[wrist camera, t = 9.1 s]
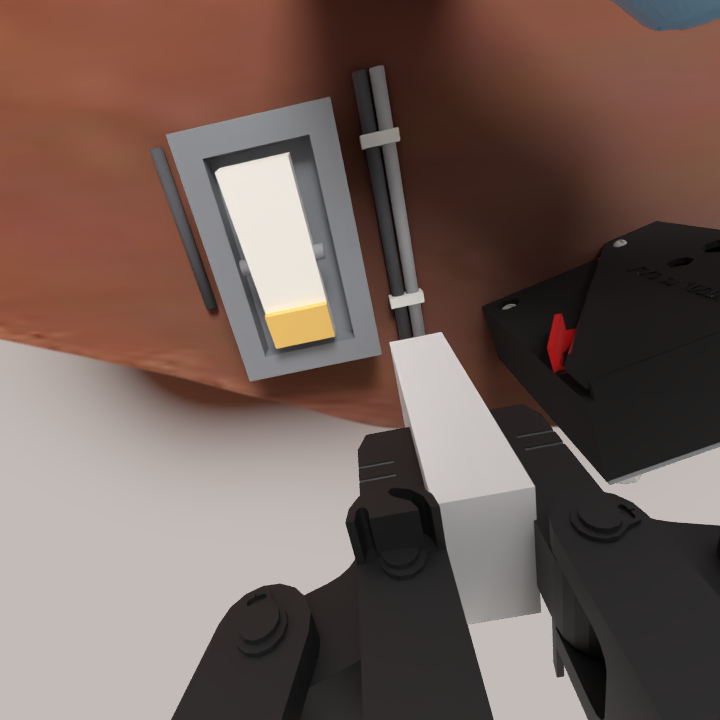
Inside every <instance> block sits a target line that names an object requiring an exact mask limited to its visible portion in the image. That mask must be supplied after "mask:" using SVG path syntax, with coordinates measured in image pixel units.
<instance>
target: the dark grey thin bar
mask: <svg viewBox="0 0 720 720" xmlns="http://www.w3.org/2000/svg"><path fill="white" fill-rule="evenodd" d="M150 152H151V155H152V158H153V161H154V163H155V166H156V169H157V172H158V175H159V177H160V180H161V183H162V186H163V188H164V191H165V194H166V197H167V200H168V202H169V205H170V208H171V211H172V214H173V216H174V219H175V222H176V225H177V228H178V230H179V233H180V236H181V239H182V241H183V244H184V247H185V250H186V253H187V255H188V258H189V261H190V264H191V267H192V269H193V272H194V275H195V278H196V280H197V283H198V286H199V289H200V292H201V294H202V297H203V300H204V303H205V306H206V308H207V310H209V309H213V308H216V307H217V304H216V301H215V298H214V295H213V293H212V290H211V287H210V284H209V281H208V278H207V275H206V272H205V270H204V267H203V264H202V261H201V258H200V255H199V252H198V249H197V247H196V244H195V241H194V238H193V235H192V232H191V229H190V226H189V224H188V221H187V218H186V215H185V212H184V209H183V206H182V203H181V201H180V198H179V195H178V192H177V189H176V186H175V183H174V180H173V178H172V175H171V172H170V169H169V166H168V163H167V160H166V157H165V155H164V152H163V149H162V147H158V148H153V149H150Z"/></svg>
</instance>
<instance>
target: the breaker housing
mask: <svg viewBox="0 0 720 720" xmlns="http://www.w3.org/2000/svg"><path fill="white" fill-rule="evenodd" d="M166 137H167V140H168V143H169V146H170V149H171V152H172V154H173V157H174V160H175V163H176V166H177V169H178V172H179V175H180V178H181V181H182V184H183V187H184V190H185V193H186V195H187V198H188V201H189V204H190V207H191V210H192V213H193V216H194V219H195V222H196V225H197V228H198V231H199V234H200V237H201V239H202V242H203V245H204V248H205V251H206V254H207V257H208V260H209V263H210V266H211V269H212V272H213V275H214V278H215V280H216V283H217V286H218V289H219V292H220V295H221V298H222V301H223V304H224V307H225V310H226V313H227V316H228V319H229V322H230V324H231V327H232V330H233V333H234V336H235V339H236V342H237V345H238V348H239V351H240V354H241V357H242V360H243V363H244V365H245V368H246V371H247V374H248V377H249V380H250V381H255V380H260V379H265V378H270V377H275V376H280V375H284V374H289V373H294V372H299V371H304V370H309V369H314V368H319V367H323V366H328V365H333V364H338V363H343V362H348V361H353V360H358V359H362V358H367V357H372V356H377V355H382V353H381V348H380V343H379V338H378V333H377V328H376V323H375V318H374V313H373V308H372V303H371V298H370V293H369V288H368V283H367V278H366V273H365V268H364V263H363V258H362V253H361V248H360V243H359V238H358V233H357V228H356V223H355V218H354V213H353V208H352V203H351V198H350V193H349V188H348V183H347V178H346V173H345V168H344V163H343V158H342V153H341V148H340V143H339V139H338V134H337V129H336V124H335V119H334V114H333V109H332V104H331V99H330V97H326V98H321V99H317V100H313V101H309V102H304V103H300V104H296V105H291V106H287V107H283V108H278V109H274V110H270V111H266V112H261V113H257V114H253V115H248V116H244V117H240V118H235V119H231V120H227V121H222V122H218V123H214V124H210V125H205V126H201V127H197V128H192V129H188V130H184V131H179V132H175V133H171V134H167V135H166ZM288 152H290V156H291V160H292V164H293V167H294V171H295V175H296V179H297V183H298V187H299V190H300V194H301V198H302V202H303V206H304V210H305V213H306V217H307V221H308V225H309V229H310V232H311V236H312V240H313V244H318V243H322V244H323V248H324V252H325V259H321V260H318V263H319V267H320V271H321V275H322V278H323V282H324V286H325V290H326V294H327V298H328V301H329V305H330V309H331V313H332V317H333V321H334V324H335V337H331V338H326V339H321V340H316V341H312V342H307V343H302V344H297V345H292V346H288V347H283V348H278V349H276V347H275V344H274V342H273V339H272V336H271V333H270V331H269V328H268V325H267V322H266V320H265V315H266V314H265V311H264V308H263V306H262V303H261V300H260V297H259V294H258V292H257V289H256V286H255V283H254V281H253V278H252V275H247V276H243V274H242V272H241V269H240V264H239V262H240V260H244V259H246V258H245V256H244V253H243V250H242V247H241V244H240V242H239V239H238V236H237V233H236V231H235V228H234V225H233V222H232V219H231V217H230V214H229V211H228V208H227V206H226V203H225V200H224V197H223V194H222V192H221V189H220V186H219V183H218V181H217V178H216V175H215V172H216V171H217V170H218V169H219V168H222V167H226V166H231V165H235V164H240V163H244V162H248V161H253V160H257V159H261V158H266V157H270V156H275V155H279V154H283V153H288Z"/></svg>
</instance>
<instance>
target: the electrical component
mask: <svg viewBox="0 0 720 720" xmlns="http://www.w3.org/2000/svg"><path fill="white" fill-rule="evenodd" d="M482 308H483V311H484V314H485V317H486V320H487V323H488V326H489V329H490V332H491V335H492V338H493V341H494V344H495V347H496V350H497V353H498V356H499V359H500V360H501V361H502V362H503V363H504V364H505V366H506V367H507V368H508V369H509V370H510V371H511V372H512V374H513V375H514V376H515V377H516V378H517V379H518V381H519V382H520V383H521V384H522V385H523V386H524V387H525V389H526V390H527V391H528V392H529V393H530V394H531V395H532V397H533V398H534V399H535V400H536V401H537V402H538V403H539V405H540V406H541V407H542V408H543V409H544V410H545V412H546V413H547V414H548V415H549V416H550V417H551V418H552V420H553V421H554V422H555V423H556V424H557V425H558V426H559V428H560V429H561V430H562V431H563V432H564V433H565V435H566V436H567V437H568V438H569V439H570V440H571V441H572V442H573V444H574V445H575V446H576V447H577V448H578V449H579V450H580V452H581V453H582V454H583V455H584V456H585V457H586V458H587V460H588V461H589V462H590V463H591V464H592V466H593V467H594V468H595V469H596V470H597V471H598V472H599V474H600V475H601V476H602V477H603V478H604V479H605V480H606V482H608V483H609V484H610V485H611V484H614V483H620V484H629V483H634V482H637V481H638V479H639V478H640V476H641V474H643V473H646V472H648V471H651V470H654V469H657V468H660V467H663V466H666V465H669V464H671V463H674V462H677V461H680V460H683V459H686V458H689V457H691V456H694V455H697V454H700V453H703V452H706V451H709V450H711V449H714V448H717V447H720V230H717V229H710V228H702V227H695V226H688V225H681V224H674V223H667V222H659V221H656V222H654V223H651V224H649V225H647V226H644V227H642V228H640V229H637V230H635V231H633V232H630V233H628V234H626V235H623V236H621V237H619V238H616V239H614V240H612V241H609V242H608V243H606V244H604V247H603V250H602V253H601V256H600V257H598V259H596V260H594V261H591V262H589V263H586V264H584V265H581V266H579V267H577V268H574V269H572V270H569V271H567V272H565V273H562V274H560V275H557V276H555V277H553V278H550V279H548V280H545V281H543V282H540V283H538V284H536V285H533V286H531V287H528V288H526V289H524V290H521V291H519V292H516V293H514V294H512V295H509V296H507V297H504V298H502V299H499V300H497V301H495V302H492V303H490V304H487V305H485V306H483V307H482Z"/></svg>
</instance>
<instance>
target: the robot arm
mask: <svg viewBox="0 0 720 720" xmlns="http://www.w3.org/2000/svg"><path fill="white" fill-rule="evenodd" d="M611 1H613V2H614V3H616V4H617V5H618V6H619V7H621V8H622V9H623V10H624V11H626V12H627V13H628V14H629V15H630V16H632V17H633V18H634V19H635V20H636V21H638V22H639V23H640V24H642V25H643V26H645V27H647V28H650V29H653V30H657V31H663V30H685V29H690V28H694V27H697V26H700V25H703V24H706V23H709V22H712V21H715V20H717V19H719V18H720V0H611ZM389 343H390V348H391V354H392V359H393V364H394V370H395V375H396V381H397V386H398V391H399V397H400V402H401V408H402V413H403V418H404V423H405V428H401V429H395V430H390V431H385V432H380V433H374V434H369V435H366V436H365V438H364V440H363V442H362V444H361V445H360V448H359V449H358V463H359V480H360V496H359V497H358V498H357V500H356V501H355V502H354V503H353V505H352V506H351V507H350V509H349V511H348V515H347V519H346V527H347V530H348V533H349V537H350V541H351V544H352V548H353V551H354V555H355V561H354V562H353V563H352V565H351V566H350V567H349V568H348V569H347V570H346V571H345V572H344V573H343V574H342V575H341V576H340V577H338V578H336V579H335V580H333V581H331V582H330V583H328V584H326V585H324V586H322V587H320V588H318V589H316V590H314V591H312V592H310V593H308V594H306V595H303V594H301V593H300V592H299V591H298V590H297V589H296V588H294V587H291V586H287V585H283V584H275V585H268V586H263V587H260V588H258V589H256V590H254V591H252V592H250V593H248V594H246V595H245V596H243V597H242V598H241V599H240V600H239V601H238V602H236V603H235V604H234V605H233V606H232V607H231V608H230V609H229V610H228V612H227V613H226V615H225V616H224V618H223V619H222V621H221V622H220V624H219V625H218V627H217V629H216V631H215V633H214V635H213V637H212V639H211V641H210V643H209V645H208V647H207V649H206V651H205V653H204V655H203V657H202V659H201V661H200V663H199V665H198V667H197V669H196V671H195V673H194V675H193V677H192V679H191V681H190V683H189V685H188V687H187V689H186V691H185V693H184V695H183V697H182V699H181V701H180V703H179V705H178V707H177V709H176V711H175V713H174V715H173V717H172V719H171V720H493V716H492V712H491V708H490V705H489V701H488V697H487V694H486V690H485V687H484V683H483V679H482V676H481V672H480V669H479V665H478V661H477V658H476V654H475V650H474V647H473V643H472V639H471V636H470V633H469V628H468V624H474V623H480V622H486V621H492V620H498V619H504V618H510V617H517V616H522V615H529V614H535V613H540V612H541V604H540V593H541V595H542V597H543V599H544V601H545V603H546V606H547V608H548V610H549V612H550V614H551V616H552V629H553V658H554V659H553V661H554V666H555V670H556V675H557V677H563V676H564V666H565V668H566V671H567V673H568V675H569V677H570V680H571V682H572V684H573V687H574V689H575V691H576V693H577V696H578V698H579V700H580V702H581V704H582V707H583V709H584V711H585V714H586V716H587V718H588V720H720V526H717V525H703V524H690V523H677V522H668V521H662V520H655V519H652V518H650V517H649V516H648V515H647V514H646V513H645V512H643V511H642V510H641V509H640V508H638V507H637V506H636V505H635V504H634V503H632V502H630V501H628V500H626V499H624V498H621V497H619V496H617V495H615V494H611V493H606V492H604V491H603V490H602V489H601V488H600V487H599V485H598V484H597V483H596V482H595V480H594V479H593V478H592V477H591V475H590V474H589V473H588V472H587V471H586V469H585V468H584V467H583V466H582V465H581V463H580V462H579V461H578V459H577V458H576V457H575V456H574V454H573V453H572V452H571V451H570V450H569V449H568V447H567V446H566V445H565V444H563V442H562V440H561V439H560V437H559V436H558V435H557V433H556V432H553V429H552V427H551V426H550V425H549V424H548V422H547V421H546V420H545V419H544V417H543V416H542V415H541V414H539V413H538V412H536V411H534V410H532V409H530V408H528V407H526V406H525V405H523V404H519V405H514V406H509V407H504V408H498V409H493V410H488V408H487V406H486V405H485V403H484V401H483V400H482V398H481V396H480V395H479V393H478V392H477V390H476V388H475V387H474V385H473V383H472V382H471V380H470V378H469V377H468V375H467V373H466V372H465V370H464V368H463V367H462V365H461V364H460V362H459V360H458V359H457V357H456V355H455V354H454V352H453V350H452V349H451V347H450V345H449V344H448V342H447V340H446V339H445V337H444V335H443V334H442V332H439V333H434V334H429V335H424V336H419V337H414V338H409V339H404V340H399V341H394V342H389Z"/></svg>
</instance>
